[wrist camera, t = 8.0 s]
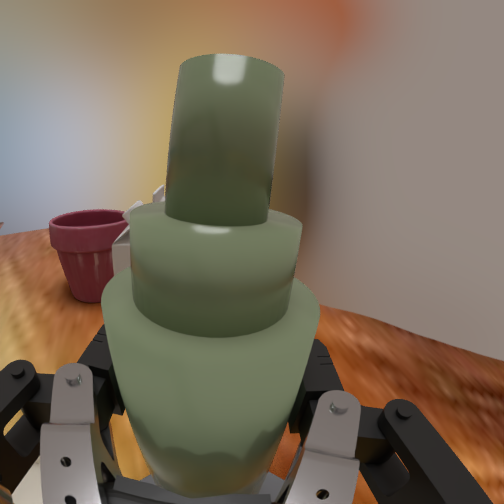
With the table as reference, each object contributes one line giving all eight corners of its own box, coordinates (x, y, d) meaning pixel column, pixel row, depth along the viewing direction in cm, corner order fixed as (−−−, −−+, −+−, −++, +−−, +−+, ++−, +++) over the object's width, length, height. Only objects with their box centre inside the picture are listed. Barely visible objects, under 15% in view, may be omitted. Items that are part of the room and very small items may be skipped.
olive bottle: (212, 542, 7) (254, -29, 2) (140, 479, 10) (77, 77, 5) (276, 483, 12) (382, 106, 6) (206, 436, 15) (225, 104, 9)
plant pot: (130, 270, 51) (127, 206, 47) (143, 304, 40) (138, 222, 36) (62, 278, 43) (55, 211, 39) (56, 315, 32) (41, 231, 28)
